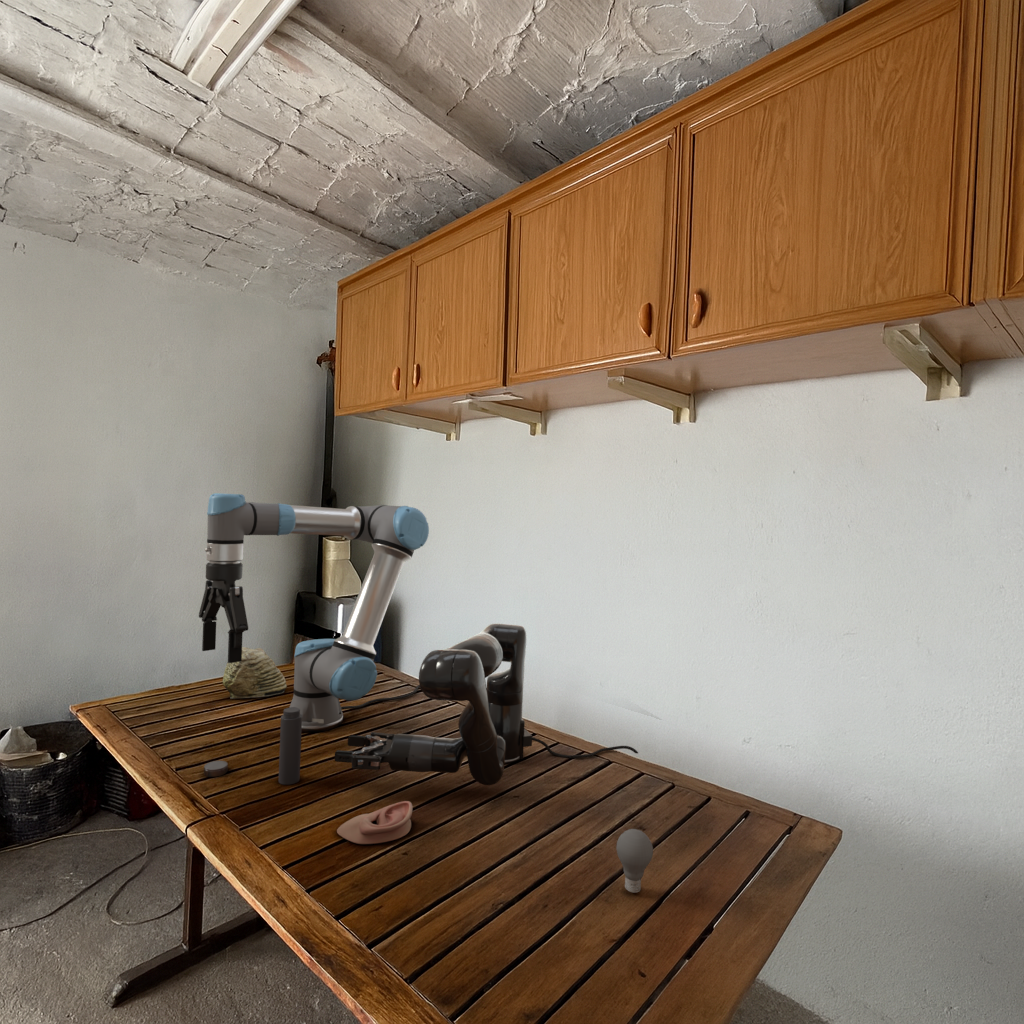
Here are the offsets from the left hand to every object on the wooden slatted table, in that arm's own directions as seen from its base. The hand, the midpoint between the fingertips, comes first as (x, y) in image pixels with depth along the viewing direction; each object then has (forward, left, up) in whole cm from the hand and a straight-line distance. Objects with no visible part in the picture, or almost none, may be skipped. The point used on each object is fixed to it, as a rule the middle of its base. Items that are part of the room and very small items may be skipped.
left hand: (221, 656), depth 143 cm
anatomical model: (-8, +45, -26) cm, 53 cm away
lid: (0, 0, -25) cm, 25 cm away
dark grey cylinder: (-9, +15, -26) cm, 32 cm away
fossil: (-34, -45, -26) cm, 62 cm away
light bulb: (-25, +92, -26) cm, 98 cm away
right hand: (-16, +25, -18) cm, 34 cm away
